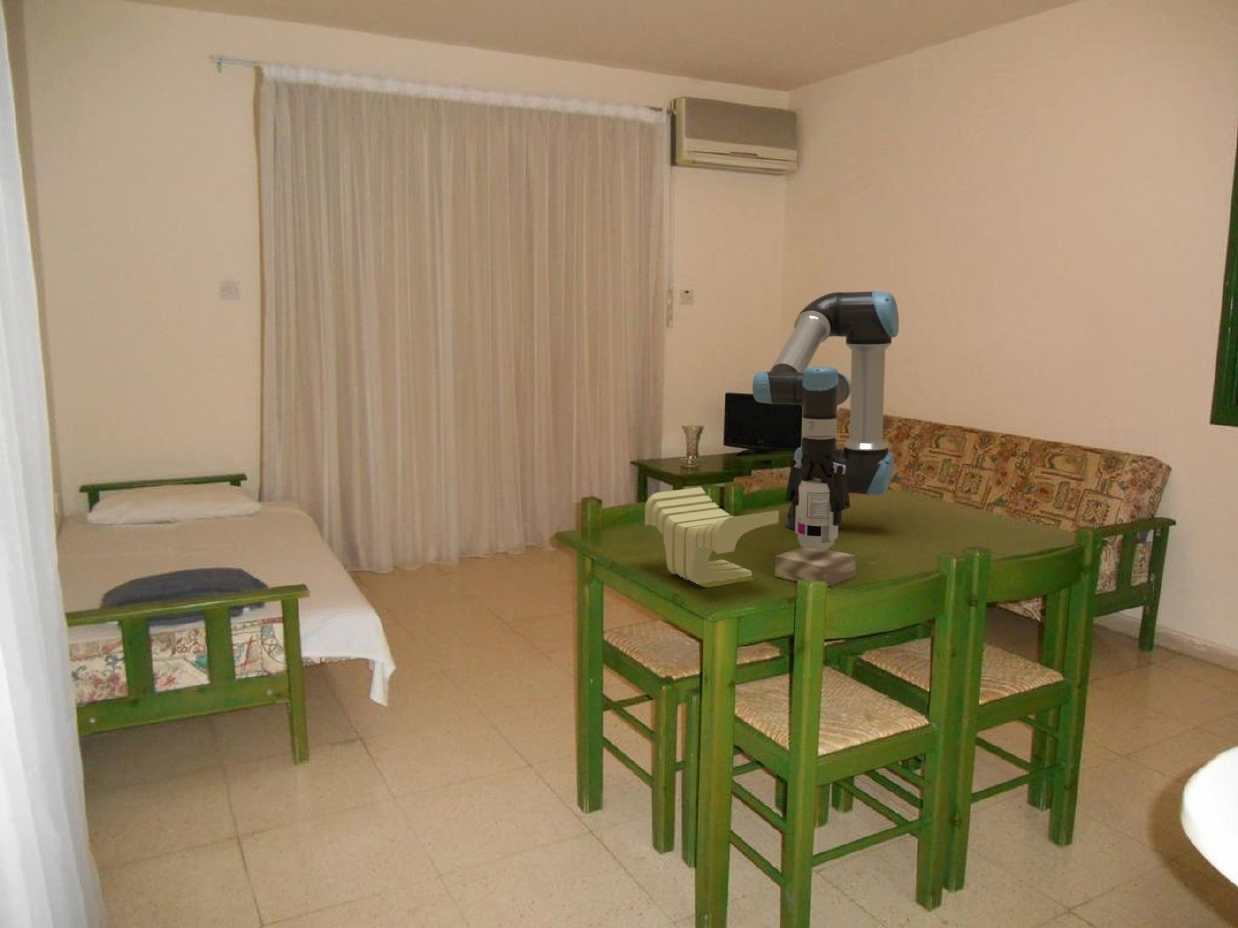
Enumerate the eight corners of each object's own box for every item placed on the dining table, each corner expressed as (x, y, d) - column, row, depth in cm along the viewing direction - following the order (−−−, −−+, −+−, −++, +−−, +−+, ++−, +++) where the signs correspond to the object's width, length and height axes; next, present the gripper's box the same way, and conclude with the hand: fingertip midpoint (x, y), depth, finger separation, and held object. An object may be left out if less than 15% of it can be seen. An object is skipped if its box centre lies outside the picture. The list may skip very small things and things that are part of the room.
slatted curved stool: (645, 566, 220) (644, 494, 217) (700, 557, 227) (701, 487, 224) (716, 601, 194) (717, 518, 191) (777, 589, 201) (778, 510, 198)
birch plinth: (774, 577, 211) (775, 555, 210) (807, 565, 220) (807, 545, 219) (823, 588, 202) (824, 566, 201) (855, 576, 211) (855, 555, 210)
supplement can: (790, 545, 209) (791, 480, 207) (810, 539, 215) (812, 476, 213) (820, 551, 204) (822, 485, 201) (841, 545, 209) (843, 480, 207)
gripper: (770, 434, 210) (768, 531, 214) (851, 443, 195) (847, 546, 199) (789, 430, 215) (787, 525, 219) (869, 439, 200) (865, 540, 204)
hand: (816, 535), depth 209 cm, fingers closed on supplement can, 8 cm apart
